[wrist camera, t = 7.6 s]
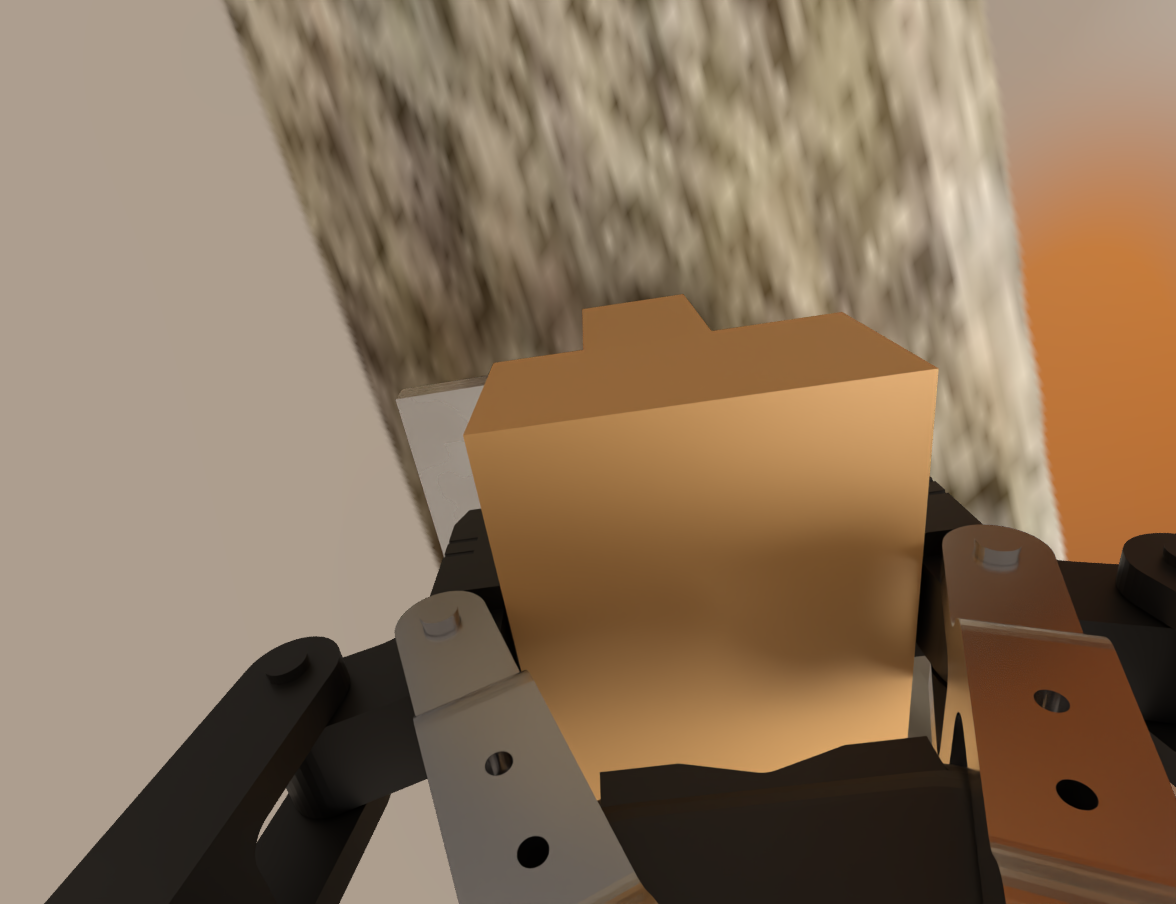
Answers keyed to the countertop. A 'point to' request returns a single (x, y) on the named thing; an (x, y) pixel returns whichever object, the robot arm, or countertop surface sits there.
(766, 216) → the countertop surface
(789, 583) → the orange block
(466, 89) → the countertop surface
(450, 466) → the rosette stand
